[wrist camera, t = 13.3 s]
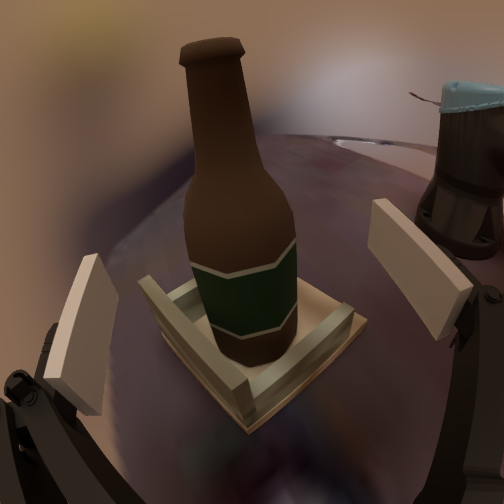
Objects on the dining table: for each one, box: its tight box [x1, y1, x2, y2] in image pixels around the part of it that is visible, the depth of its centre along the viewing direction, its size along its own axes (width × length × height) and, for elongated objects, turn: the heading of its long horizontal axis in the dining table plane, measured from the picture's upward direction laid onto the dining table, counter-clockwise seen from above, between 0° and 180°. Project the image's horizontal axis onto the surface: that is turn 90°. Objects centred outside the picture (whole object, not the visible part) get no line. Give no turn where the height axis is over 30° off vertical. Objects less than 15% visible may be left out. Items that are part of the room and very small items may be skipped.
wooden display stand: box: [137, 275, 367, 435], centre depth 26 cm, size 15×14×8 cm
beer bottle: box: [179, 37, 298, 367], centre depth 20 cm, size 8×8×24 cm
